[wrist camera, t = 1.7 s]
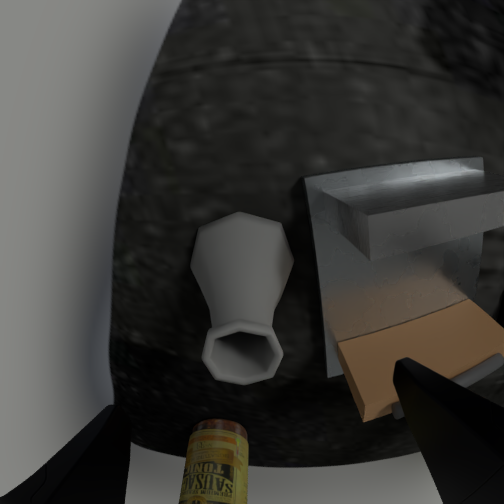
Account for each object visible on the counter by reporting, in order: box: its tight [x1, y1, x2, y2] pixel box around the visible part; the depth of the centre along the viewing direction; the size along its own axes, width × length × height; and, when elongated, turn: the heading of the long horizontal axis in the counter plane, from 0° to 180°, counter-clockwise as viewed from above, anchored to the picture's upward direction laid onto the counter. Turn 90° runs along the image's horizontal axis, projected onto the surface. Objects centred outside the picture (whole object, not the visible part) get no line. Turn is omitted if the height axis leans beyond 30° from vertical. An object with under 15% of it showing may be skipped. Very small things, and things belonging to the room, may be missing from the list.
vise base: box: [301, 156, 504, 378], centre depth 17 cm, size 17×16×8 cm
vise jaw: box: [338, 299, 504, 422], centre depth 18 cm, size 2×14×8 cm, turn 102°
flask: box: [190, 212, 294, 385], centre depth 15 cm, size 7×7×10 cm
